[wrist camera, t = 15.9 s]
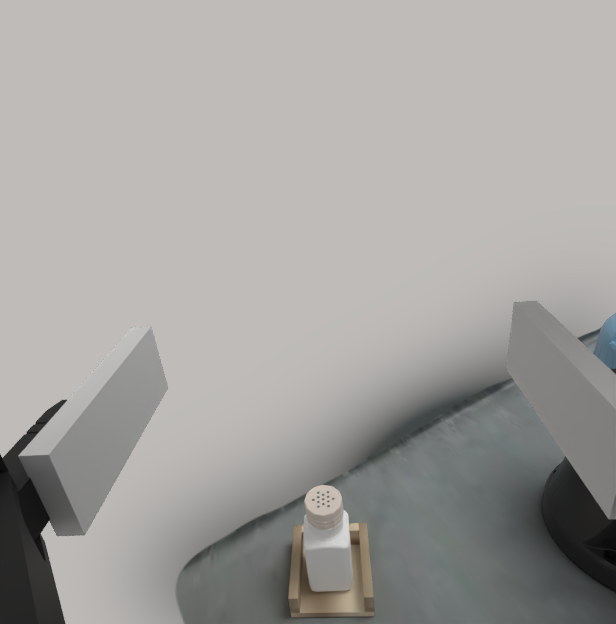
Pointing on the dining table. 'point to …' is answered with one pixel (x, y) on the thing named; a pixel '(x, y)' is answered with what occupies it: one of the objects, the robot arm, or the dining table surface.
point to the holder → (332, 602)
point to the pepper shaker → (327, 541)
